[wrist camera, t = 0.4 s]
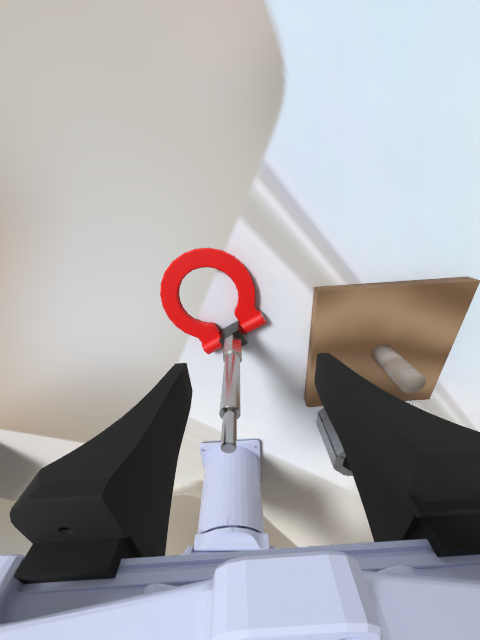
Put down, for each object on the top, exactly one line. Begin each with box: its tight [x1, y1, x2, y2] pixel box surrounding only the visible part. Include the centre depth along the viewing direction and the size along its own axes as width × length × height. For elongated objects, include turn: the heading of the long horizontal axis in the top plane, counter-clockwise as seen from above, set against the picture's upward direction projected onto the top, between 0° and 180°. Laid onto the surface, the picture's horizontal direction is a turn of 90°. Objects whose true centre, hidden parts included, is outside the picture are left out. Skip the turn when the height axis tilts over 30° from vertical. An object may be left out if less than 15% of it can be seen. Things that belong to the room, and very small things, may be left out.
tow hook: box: [160, 248, 267, 453], centre depth 15 cm, size 8×13×9 cm
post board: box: [304, 277, 480, 407], centre depth 21 cm, size 14×14×6 cm
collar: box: [317, 409, 353, 476], centre depth 26 cm, size 5×5×6 cm
